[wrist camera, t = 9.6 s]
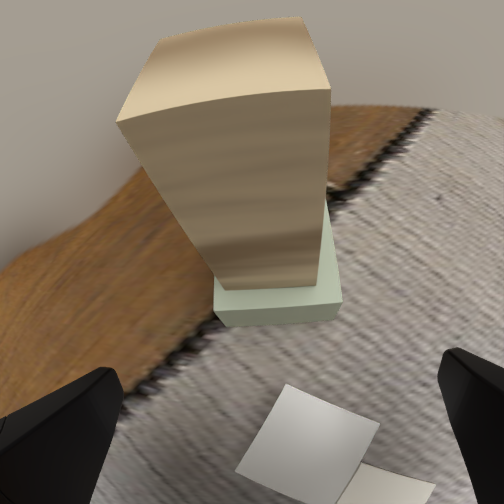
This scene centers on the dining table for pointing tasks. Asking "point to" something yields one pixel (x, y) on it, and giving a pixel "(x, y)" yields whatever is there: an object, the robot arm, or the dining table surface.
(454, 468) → the dining table surface
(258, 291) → the sage base block
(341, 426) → the grey cube
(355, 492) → the card
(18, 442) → the robot arm
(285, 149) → the maple pillar
